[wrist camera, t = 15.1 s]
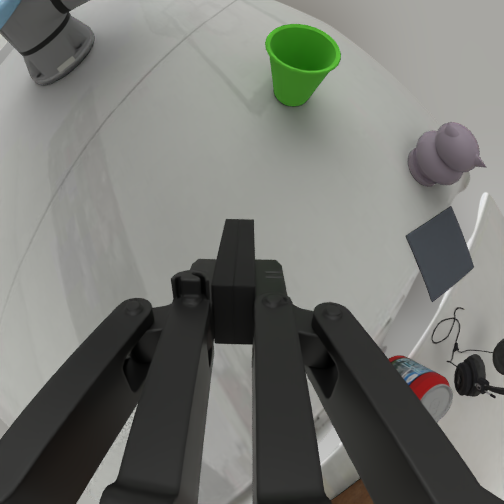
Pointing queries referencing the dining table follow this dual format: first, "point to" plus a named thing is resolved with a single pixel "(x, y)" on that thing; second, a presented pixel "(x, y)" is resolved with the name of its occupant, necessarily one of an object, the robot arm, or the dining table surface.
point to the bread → (354, 495)
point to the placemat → (440, 252)
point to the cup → (300, 61)
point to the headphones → (476, 370)
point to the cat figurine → (444, 155)
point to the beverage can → (425, 385)
